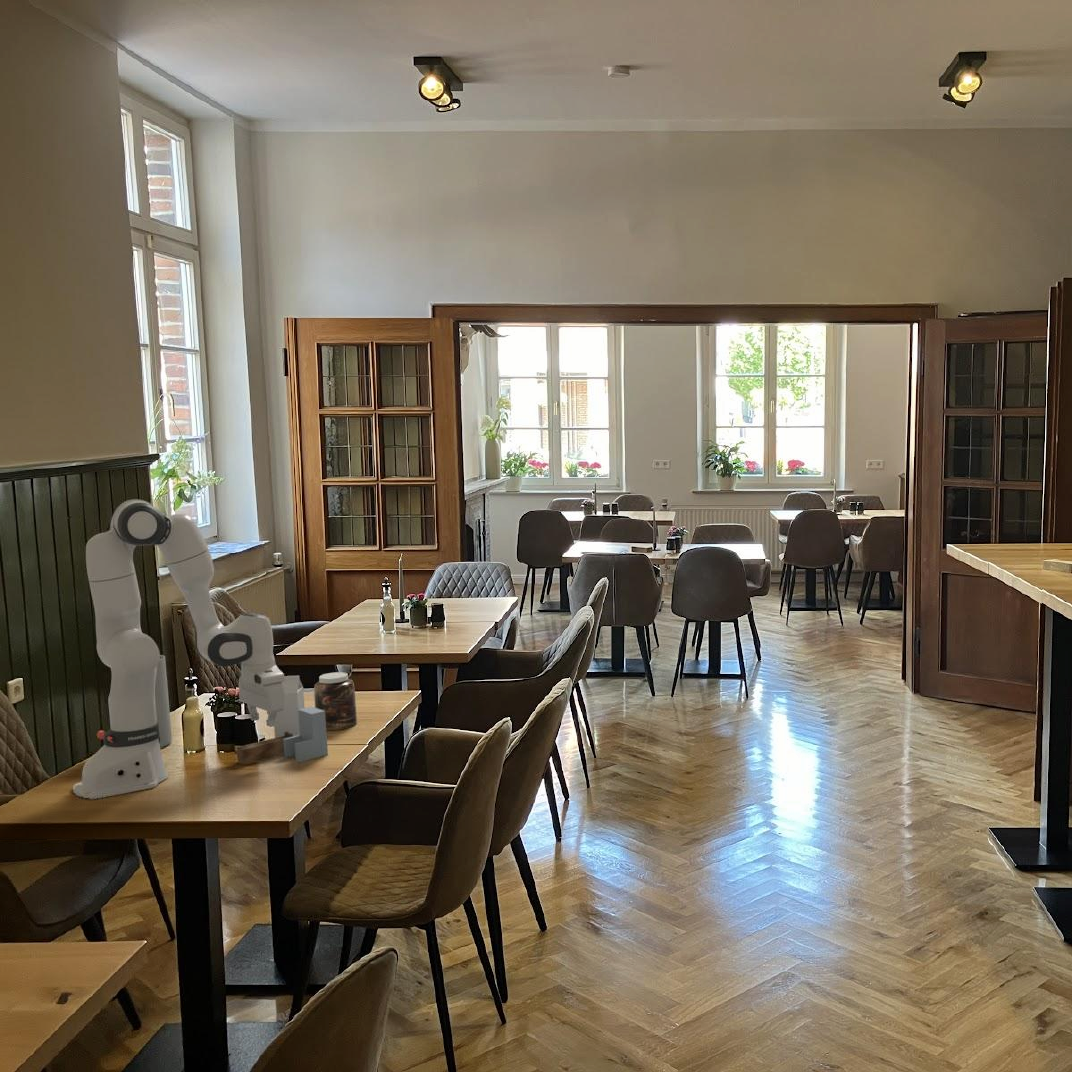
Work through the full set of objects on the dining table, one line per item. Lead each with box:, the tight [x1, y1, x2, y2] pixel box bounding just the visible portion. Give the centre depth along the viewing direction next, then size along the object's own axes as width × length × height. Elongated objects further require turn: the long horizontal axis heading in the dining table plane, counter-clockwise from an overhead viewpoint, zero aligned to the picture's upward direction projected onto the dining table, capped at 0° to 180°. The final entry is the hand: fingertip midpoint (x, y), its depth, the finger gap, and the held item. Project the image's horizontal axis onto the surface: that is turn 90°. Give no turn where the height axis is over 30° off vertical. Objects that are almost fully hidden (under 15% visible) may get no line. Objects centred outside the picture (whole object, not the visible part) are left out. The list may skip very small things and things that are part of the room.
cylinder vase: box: [155, 654, 173, 749], centre depth 303 cm, size 12×12×25 cm
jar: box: [313, 671, 358, 731], centre depth 316 cm, size 12×12×15 cm
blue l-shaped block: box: [283, 706, 329, 763], centre depth 286 cm, size 9×7×12 cm
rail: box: [236, 732, 293, 765], centre depth 288 cm, size 15×4×5 cm, turn 131°
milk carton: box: [273, 675, 306, 738], centre depth 299 cm, size 7×7×19 cm
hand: (262, 723), depth 287 cm, fingers open, 8 cm apart
